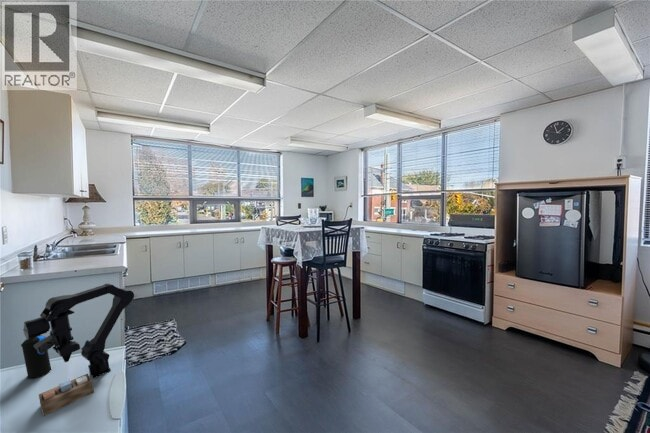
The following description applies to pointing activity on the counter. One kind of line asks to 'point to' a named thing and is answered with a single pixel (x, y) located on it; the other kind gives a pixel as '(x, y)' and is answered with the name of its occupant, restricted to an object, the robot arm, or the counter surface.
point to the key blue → (65, 386)
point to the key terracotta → (48, 394)
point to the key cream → (81, 380)
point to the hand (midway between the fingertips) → (66, 361)
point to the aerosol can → (35, 358)
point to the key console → (66, 396)
